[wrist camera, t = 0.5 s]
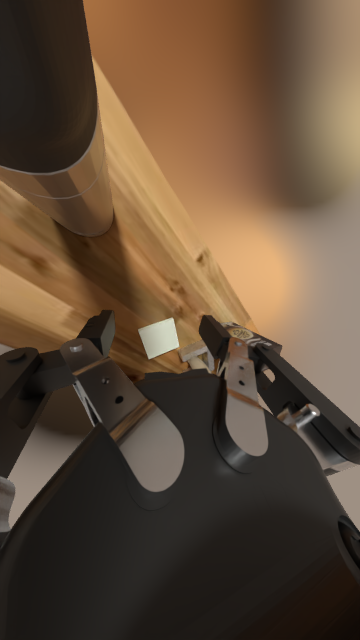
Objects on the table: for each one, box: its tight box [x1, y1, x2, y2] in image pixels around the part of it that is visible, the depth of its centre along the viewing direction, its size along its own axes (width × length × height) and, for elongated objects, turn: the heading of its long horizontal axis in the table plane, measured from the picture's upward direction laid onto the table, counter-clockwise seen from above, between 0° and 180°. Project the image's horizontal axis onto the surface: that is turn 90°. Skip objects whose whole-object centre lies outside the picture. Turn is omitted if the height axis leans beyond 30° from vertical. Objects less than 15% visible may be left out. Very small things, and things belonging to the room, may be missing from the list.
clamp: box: [178, 339, 214, 373], centre depth 40 cm, size 11×10×4 cm
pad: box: [138, 318, 179, 359], centre depth 34 cm, size 9×9×1 cm
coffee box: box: [221, 322, 282, 371], centre depth 36 cm, size 9×6×16 cm
